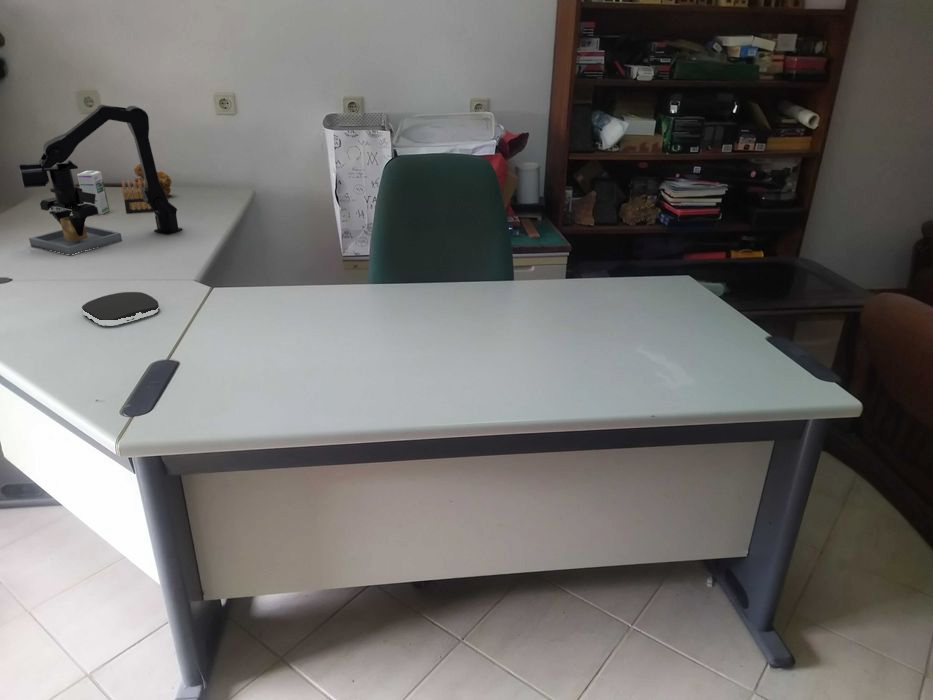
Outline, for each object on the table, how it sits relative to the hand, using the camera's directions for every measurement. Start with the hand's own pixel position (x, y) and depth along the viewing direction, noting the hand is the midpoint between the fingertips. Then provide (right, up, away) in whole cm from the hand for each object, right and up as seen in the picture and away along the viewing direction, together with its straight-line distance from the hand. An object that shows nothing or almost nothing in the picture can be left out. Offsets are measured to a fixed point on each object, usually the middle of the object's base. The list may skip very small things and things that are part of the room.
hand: (75, 234), depth 205 cm
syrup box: (-11, +13, +32) cm, 37 cm away
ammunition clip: (+4, +14, +35) cm, 38 cm away
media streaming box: (+38, -27, -44) cm, 64 cm away
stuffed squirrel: (-1, +24, +55) cm, 60 cm away
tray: (0, -3, +1) cm, 3 cm away
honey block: (0, -1, 0) cm, 1 cm away
